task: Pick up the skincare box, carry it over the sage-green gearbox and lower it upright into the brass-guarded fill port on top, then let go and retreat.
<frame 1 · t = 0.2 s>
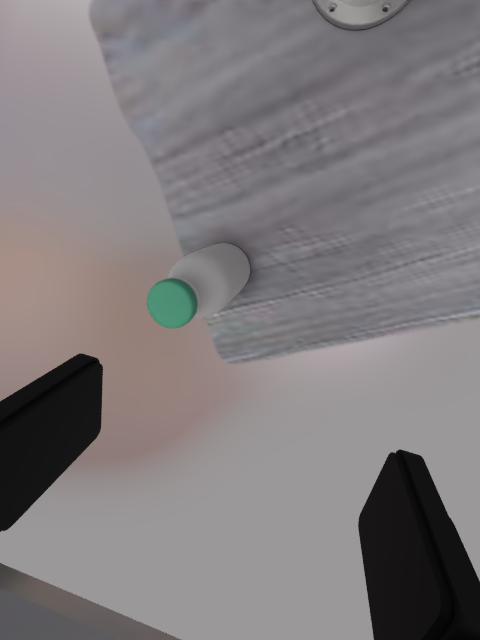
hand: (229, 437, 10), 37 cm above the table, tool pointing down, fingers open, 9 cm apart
milk bottle: (226, 268, 47), on the table
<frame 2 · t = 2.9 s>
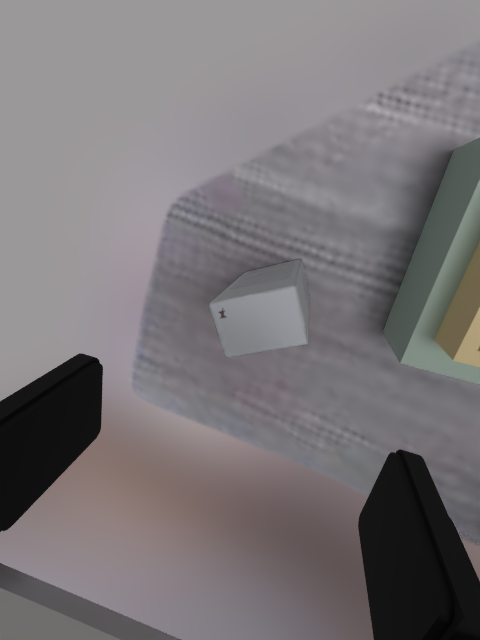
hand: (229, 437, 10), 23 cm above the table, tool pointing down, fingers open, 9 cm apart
skincare box: (278, 284, 32), on the table
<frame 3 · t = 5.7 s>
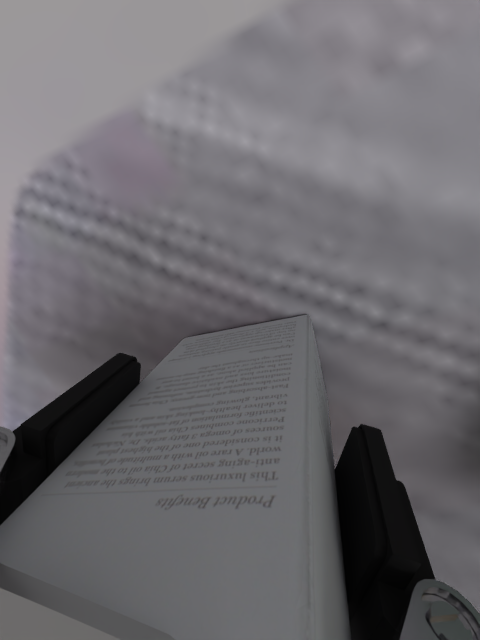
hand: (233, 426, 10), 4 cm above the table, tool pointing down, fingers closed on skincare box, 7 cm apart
skincare box: (257, 364, 14), on the table, touching gripper
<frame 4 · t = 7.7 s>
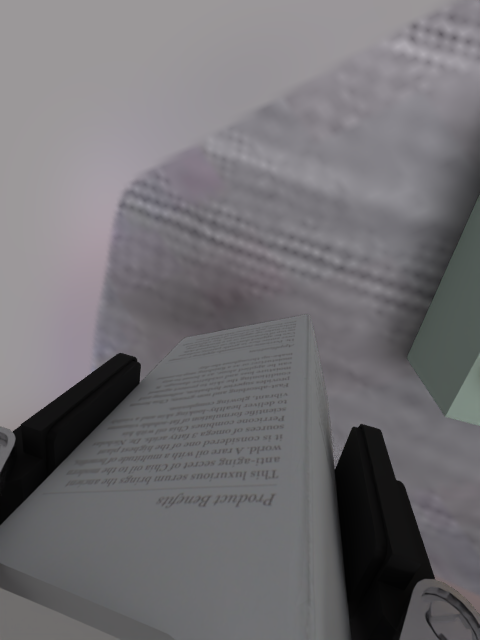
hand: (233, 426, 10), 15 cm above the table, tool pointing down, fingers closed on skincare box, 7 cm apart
skincare box: (257, 364, 14), point 10 cm above the table, touching gripper
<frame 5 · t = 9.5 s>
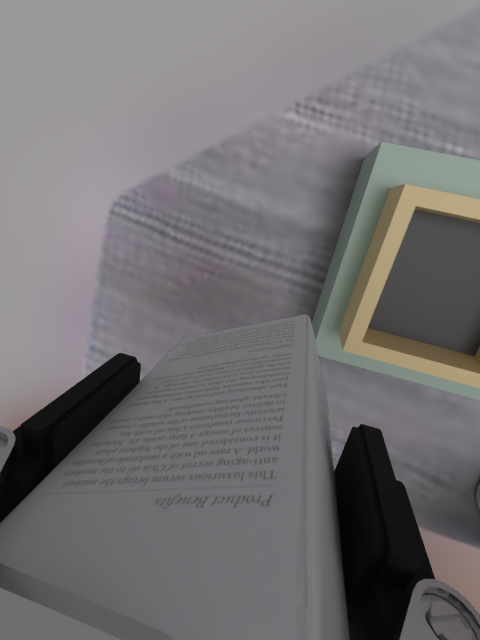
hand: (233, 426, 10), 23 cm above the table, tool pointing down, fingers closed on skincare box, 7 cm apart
gearbox: (409, 267, 29), on the table
skincare box: (256, 364, 14), point 19 cm above the table, touching gripper
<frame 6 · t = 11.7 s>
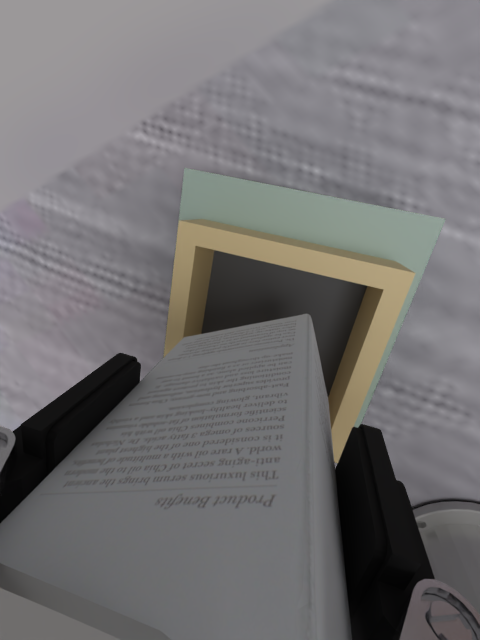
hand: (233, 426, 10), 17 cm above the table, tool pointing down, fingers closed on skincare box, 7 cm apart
gearbox: (283, 299, 26), on the table
skincare box: (257, 363, 14), point 12 cm above the table, touching gripper
when the fingers open (13 cm above the table, at t = 13.4 s): skincare box drops 1 cm, resting on gearbox.
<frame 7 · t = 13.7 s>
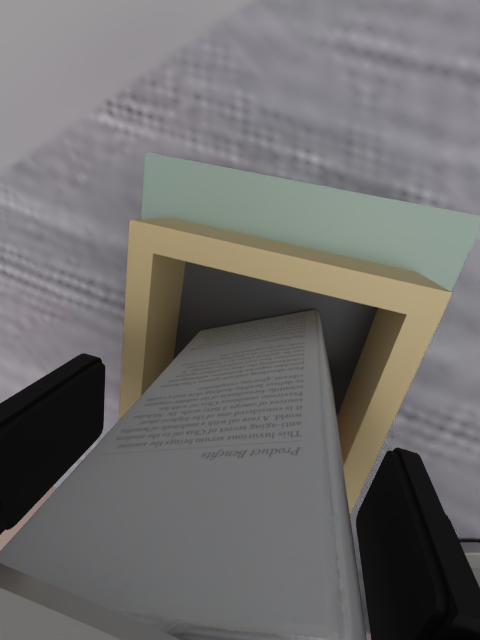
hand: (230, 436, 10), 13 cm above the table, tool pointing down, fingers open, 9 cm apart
gearbox: (276, 311, 22), on the table
skincare box: (268, 355, 16), point 7 cm above the table, touching gearbox
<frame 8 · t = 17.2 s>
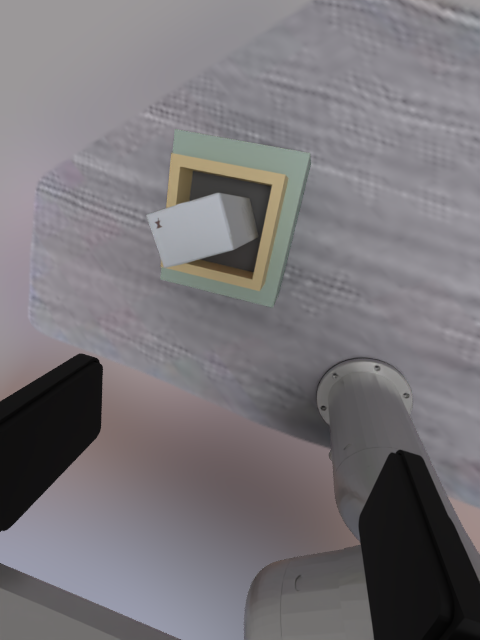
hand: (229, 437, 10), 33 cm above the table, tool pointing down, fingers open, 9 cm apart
gearbox: (240, 221, 40), on the table
skincare box: (230, 225, 34), point 7 cm above the table, touching gearbox
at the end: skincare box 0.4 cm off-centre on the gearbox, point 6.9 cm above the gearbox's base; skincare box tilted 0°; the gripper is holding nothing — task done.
